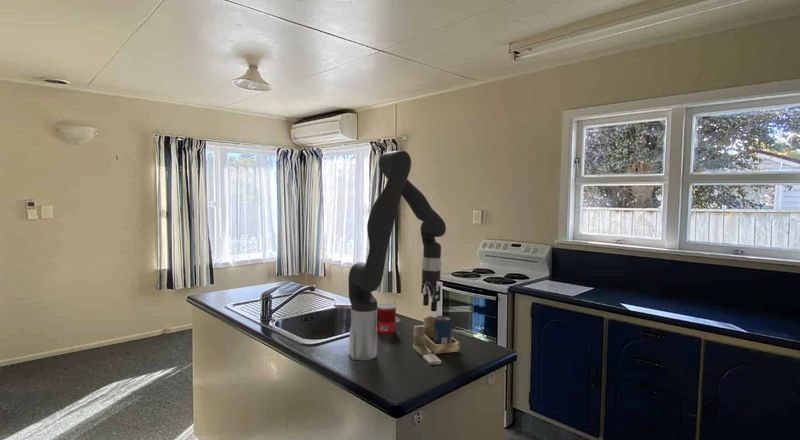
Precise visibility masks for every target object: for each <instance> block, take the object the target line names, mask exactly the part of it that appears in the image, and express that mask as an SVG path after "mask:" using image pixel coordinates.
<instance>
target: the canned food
mask: <svg viewBox="0 0 800 440" xmlns="http://www.w3.org/2000/svg"><path fill="white" fill-rule="evenodd" d="M396 314H397V308H396V304H394V303H386V302H385V303H380V304H377V334H381V335H391V334H393V333H395V332H396V318H397V317H396V316H397V315H396Z"/></svg>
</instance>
